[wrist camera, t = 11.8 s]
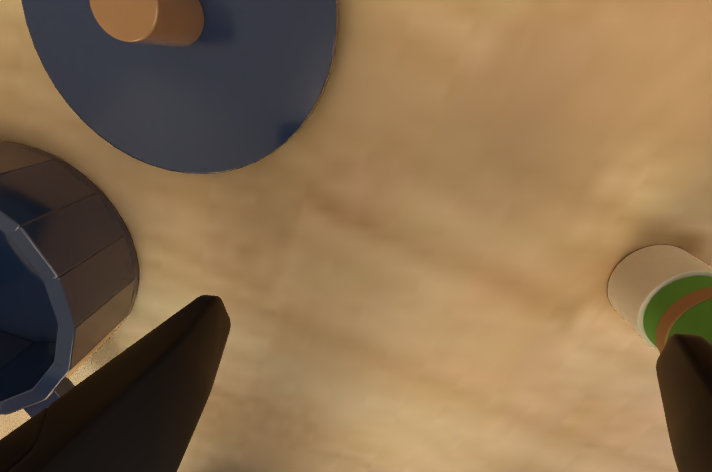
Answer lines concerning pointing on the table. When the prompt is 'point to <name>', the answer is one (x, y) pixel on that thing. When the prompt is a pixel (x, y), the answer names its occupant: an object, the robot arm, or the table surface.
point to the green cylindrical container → (663, 294)
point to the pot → (55, 275)
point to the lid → (188, 73)
